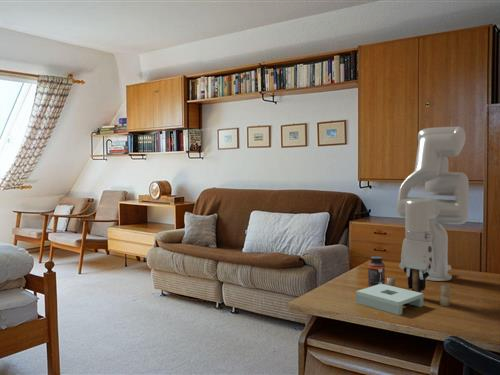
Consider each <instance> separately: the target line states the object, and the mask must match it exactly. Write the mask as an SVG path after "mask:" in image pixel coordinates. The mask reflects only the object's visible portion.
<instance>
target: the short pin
mask: <svg viewBox="0 0 500 375" xmlns="http://www.w3.org/2000/svg"><path fill="white" fill-rule="evenodd" d="M386 285H389V286H394V287H396V277H395V276H386Z"/></svg>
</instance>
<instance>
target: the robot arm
mask: <svg viewBox="0 0 500 375" xmlns="http://www.w3.org/2000/svg"><path fill="white" fill-rule="evenodd" d="M466 139H467V138H466V131H465V129H464V128H463V127H461V126H439V127H428V128H423V129H421V130H420V131H419V132H418V134H417V141H418V144H417V150H416V151H417V152H416V158H415V164H414V171H413V172H412V173H411V174H409V175H408V176H407V177H406V178H405V179H404V180H403V182H402V183H401V185H400V187H399V190H398V195H397V199H396V200H397V202H396V213H397V214H398V216H399V217H401V218H404V219H405V223H404V224H405V225H404V227H405V231H404V235H405V236H404V237H405V238H404V239H403V241H402V246H401V254H400V260H401V261H400V263H399V264H398V267H399V268H400V269H401V270H402V271H403V272H404V273H405V275H406V277H407V286H408V290H412V269H416V270H419V275H420V279H418V290H419V291H421V292H422V291H425V289H426V284H427V283H426V281H432V282H433V281H434V282H446V281H447V282H449V281H450V280H452V277H453V276H452V275H451V274H450V273H448V271H450V270H452V266H451V265H450V264H448V254H449V252H448V251H449V250H448V248H449V245H448V244H449V238H448V237H449V236H448V232H447V230H446V229H445V227H444V226H443V225H442V224H446V225H449V224H450V225H463V224H465V223H467V221H468V217H469V198H470V197H469V193H470V191H469V190H470V188H469V187H470V185H469V184H470V183H469V178H468V176H467V175H466V173H464V172H461V171H460V172H459V171H458V172H457V171H455V172H454V171H452V172H451V171H450V172H449V163H450V162H449V159H448V157H449V158H450V157H457V156H459V155H460V153H461V152H462V149H463V147H464V146H465V143H466ZM422 184H424V189H425V192H426V193H427V195H429V196H434V197H436V196H437V197H454V198H455V199H443V198H442V199H441V198H432V197H418V196H417V197H413V196H412V197H411V196H410V197H409V194H410V192H411V191H412V190H413V189H415V188H417V187H418V186H420V185H422Z"/></svg>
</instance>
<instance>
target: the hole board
mask: <svg viewBox="0 0 500 375" xmlns="http://www.w3.org/2000/svg"><path fill="white" fill-rule="evenodd" d="M355 302H356V304H359V305H362V306H366V307H369V308H371V309H376V310H379V311H382V312H386V313H390V314H393V315H397V316H401V315H403V305H406V304H407V305H412V306H415V307H418V308H421V307H423V306H424V293H423V292H421V293H419V292H415V291H412V289H405V288H401V287H397V286H395V287H394V286H389V285H387V284H386V283H385V284H378V285H375V286H372V287H369V286H368V287H364V288H362V289H359V290H356V291H355Z"/></svg>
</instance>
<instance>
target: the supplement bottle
mask: <svg viewBox="0 0 500 375" xmlns="http://www.w3.org/2000/svg"><path fill="white" fill-rule="evenodd" d="M367 266H368V268H367V270H368V271H367V274H368V275H367V276H368V277H367V283H368V284H367V286H368V287H372V286H375V285H378V284H385V285H386V282H385V280H386V279H385V278H386V277H385V276H386V274H385V272H386V270H385V266H386V265H385V264H384V262H383V258H382V256H379V255H378V256H376V255H375V256H370V262H369V263H368V264H367Z"/></svg>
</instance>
